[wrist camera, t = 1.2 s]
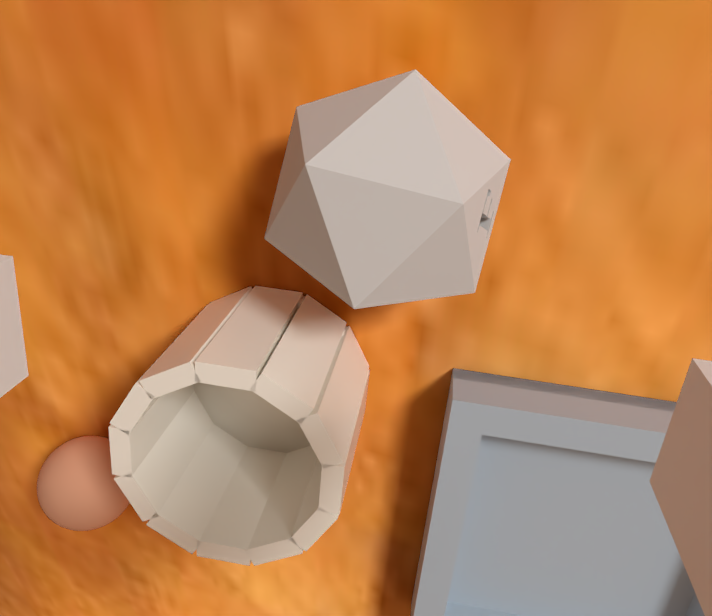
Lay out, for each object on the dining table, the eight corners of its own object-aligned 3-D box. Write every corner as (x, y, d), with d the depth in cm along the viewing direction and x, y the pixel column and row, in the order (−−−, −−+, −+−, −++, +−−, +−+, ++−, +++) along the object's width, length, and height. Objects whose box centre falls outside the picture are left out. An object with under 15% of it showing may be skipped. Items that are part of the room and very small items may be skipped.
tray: (411, 601, 38) (408, 645, 36) (453, 368, 32) (452, 399, 29) (688, 653, 37) (707, 703, 34) (791, 419, 30) (824, 458, 28)
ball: (73, 481, 38) (22, 542, 34) (66, 411, 36) (10, 465, 32) (153, 496, 38) (111, 559, 33) (150, 425, 36) (105, 482, 31)
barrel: (186, 437, 36) (117, 540, 29) (183, 275, 32) (102, 347, 25) (358, 467, 35) (332, 581, 28) (377, 303, 31) (353, 386, 24)
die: (388, 305, 32) (529, 353, 23) (214, 265, 27) (306, 306, 19) (432, 136, 31) (593, 119, 22) (262, 68, 27) (380, 14, 18)
